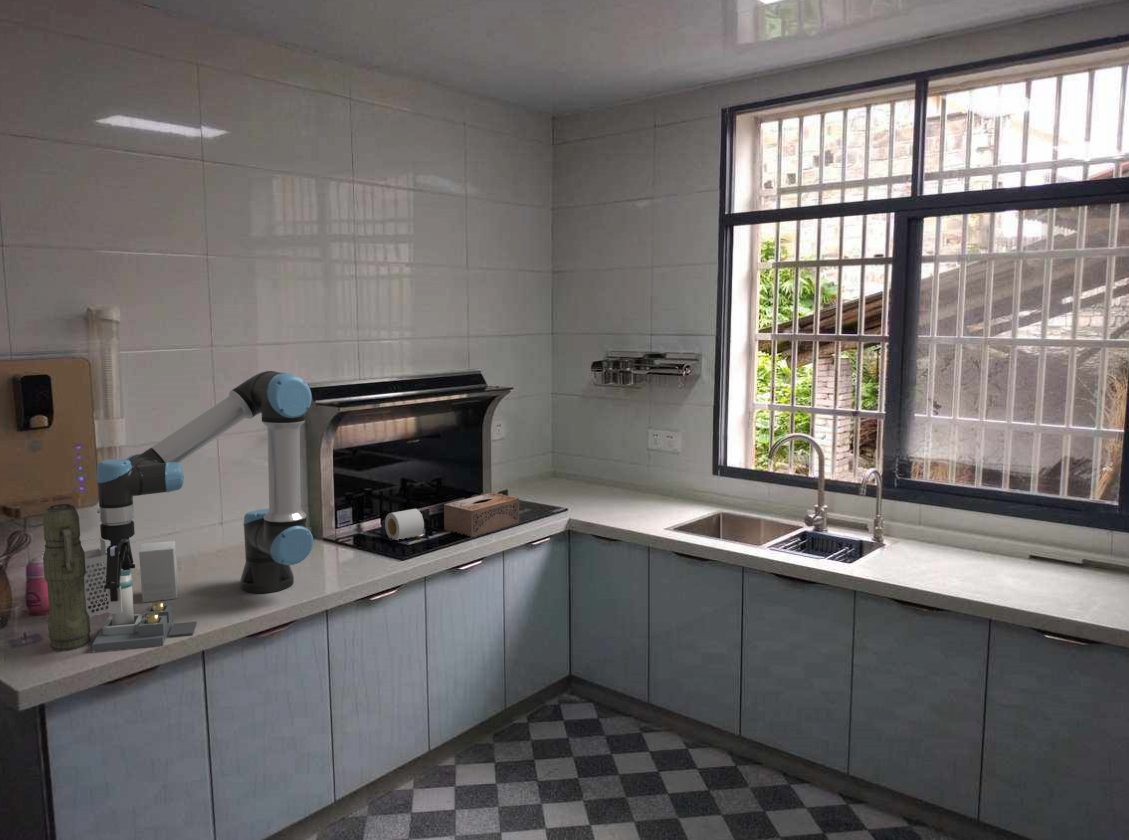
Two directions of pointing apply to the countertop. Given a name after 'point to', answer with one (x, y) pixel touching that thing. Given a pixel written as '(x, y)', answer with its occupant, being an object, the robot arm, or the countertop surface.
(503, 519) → the tissue box cover
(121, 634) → the housing
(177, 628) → the mat
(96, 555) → the grater
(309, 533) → the robot arm
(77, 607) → the thermos
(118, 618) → the cartridge
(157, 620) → the plunger
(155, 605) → the plunger
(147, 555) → the supplement box
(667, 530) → the countertop surface
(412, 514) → the toilet paper
